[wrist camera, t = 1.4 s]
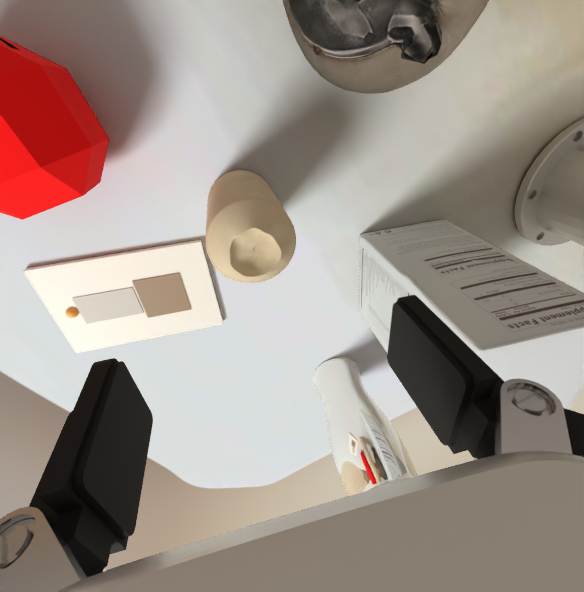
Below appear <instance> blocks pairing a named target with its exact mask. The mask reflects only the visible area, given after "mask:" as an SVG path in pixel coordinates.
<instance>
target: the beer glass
mask: <svg viewBox="0 0 584 592" xmlns="http://www.w3.org/2000/svg"><path fill="white" fill-rule="evenodd" d="M312 383H313V386H314V388H315V390H316V391H317V393H318V394H319V396H320V398H321V400H322V402H323V405H324V408H325V413H326V419H327V426H328V433H329V439H330V445H331V450H332V454H333V457H334V461H335V464H336V467H337V470H338V473H339V476H340V479H341V481H342V484H343V486H344V489H345V491H346V494H347V496H351V495H355V494H358V493H361V492H365V491H368V490H372V489H375V488H378V487H382V486H385V485H389V484H392V483H396V482H399V481H403V480H406V479H409V478H413V477H416V476H418V475H417V473H416V470H415V468H414V466H413V463H412V461H411V459H410V457H409V455H408V452H407V450H406V449H405V447H404V445H403V442H402V440H401V439H400V437H399V435H398V434H397V432H396V430H395V429H394V427H393V425H392V424H391V423H390V421H389V420H388V418H387V417H386V416H385V414H384V413H383V412H382V410H381V409H380V408H379V407H378V405H377V404H376V403H375V402H374V400H373V399H372V398H371V396H370V395H369V394H368V392H367V391H366V389H365V387H364V385H363V383H362V380H361V377H360V373H359V369H358V367H357V365H356V363H355V362H354V361H353V360H351V359H349V358H344V357H338V358H333V359H330V360H327V361H325V362H324V363H322V364H321V365H320V366H319V367H318V368H317V369H316V370H315V371H314V373H313V376H312Z"/></svg>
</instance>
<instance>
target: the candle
mask: <svg viewBox="0 0 584 592" xmlns="http://www.w3.org/2000/svg"><path fill="white" fill-rule="evenodd" d="M295 246H296V235H295V230H294V226H293V224H292V222H291V220H290V218H289V217H288V215H287V213H286V212H285V210H284V208H283V207H282V205H281V204H280V202H279V200H278V199H277V197H276V195H275V194H274V192H273V190H272V189H271V187H270V186H269V184H268V183H267V182H266V181H265V180H264V179H263V178H262V177H261V176H259V175H257V174H256V173H253V172H251V171H246V170H234V171H230V172H228V173H226V174H224V175H222V176H221V177H219V178H218V179H217V180H216V181H215V183H214V184H213V186H212V187H211V190H210V192H209V196H208V204H207V222H206V250H207V254H208V257H209V259H210V261H211V262H212V264H213V265H214V267H215V268H216V269H217V270H218V271H219V272H220V273H222V274H223V275H224V276H226V277H228V278H230V279H232V280H235V281H238V282H243V283H257V282H262V281H265V280H268V279H270V278H272V277H274V276H276V275H277V274H279V273H280V272H281V271H282V270H283V269H284V268H285V267H286V266H287V265H288V263H289V262H290V260H291V258H292V256H293V254H294V251H295Z"/></svg>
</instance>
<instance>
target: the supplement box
mask: <svg viewBox="0 0 584 592" xmlns="http://www.w3.org/2000/svg"><path fill="white" fill-rule="evenodd" d="M410 295H416V296H417V297H418V298H419V299H420V300H421V301H422V302H423V303H424V304H425V305H426V306H427V307H428V308H429V309H430V310H432V311H433V312H434V313H435V314H436V315H437V316H438V317H439V318H440V319H441V320H442V321H443V322H444V323H445V324H446V325H447V326H448V327H449V328H450V329H451V330H452V331H453V332H454V333H455V334H456V335H457V336H458V337H459V338H460V339H461V340H462V341H463V342H464V343H465V344H466V345H467V346H469V347H470V348H471V349H472V350H473V351H474V352H475V353H476V354H477V355H478V356H479V357H480V358H481V359H482V360H483V361H484V362H485V363H486V364H487V365H488V366H489V367H490V368H491V369H492V370H493V371H494V372H495V373H496V374H497V375H498V376H499V377H500V378H501V379H502V380H503V381H504V382H505V381H507V380H510V379H519V378H520V379H526V380H531V381H533V382H536V383H539V384H541V385H543V386H544V387H546V388H548V389H549V390H550V391H552V392H553V393H554V394H555V395H556V396H557V397H558V398H559V400H560V401H561V403H562V406H563V408H565V409H568V410H569V409H570V407H571V406H572V404H573V402H574V401H575V399H576V397H577V395H578V394H579V392H580V391H581V389H582V387H583V386H584V293H583V292H581V291H579V290H577V289H575V288H573V287H571V286H569V285H567V284H566V283H564V282H562V281H560V280H558V279H556V278H554V277H552V276H550V275H548V274H547V273H545V272H543V271H541V270H539V269H537V268H535V267H534V266H532V265H530V264H528V263H526V262H524V261H522V260H520V259H519V258H517V257H515V256H513V255H511V254H509V253H507V252H505V251H503V250H502V249H500V248H498V247H496V246H494V245H492V244H490V243H488V242H487V241H485V240H483V239H481V238H479V237H477V236H475V235H473V234H471V233H469V232H468V231H466V230H464V229H462V228H460V227H458V226H456V225H454V224H453V223H451V222H449V221H447V220H445V219H442V220H436V221H431V222H425V223H419V224H414V225H408V226H403V227H397V228H391V229H386V230H380V231H374V232H369V233H363V234H361V235H360V239H359V294H358V310H359V312H360V313H361V315H362V316H363V318H364V319H365V321H366V322H367V324H368V325H369V327H370V328H371V330H372V331H373V333H374V334H375V336H376V337H377V339H378V340H379V342H380V343H381V345H382V346H383V348H384V349H385V351H386V352H387V354H388V345H389V335H390V326H391V317H392V308H393V304H394V303H396V302H397V299H398V298H400V297H405V296H410Z"/></svg>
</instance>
